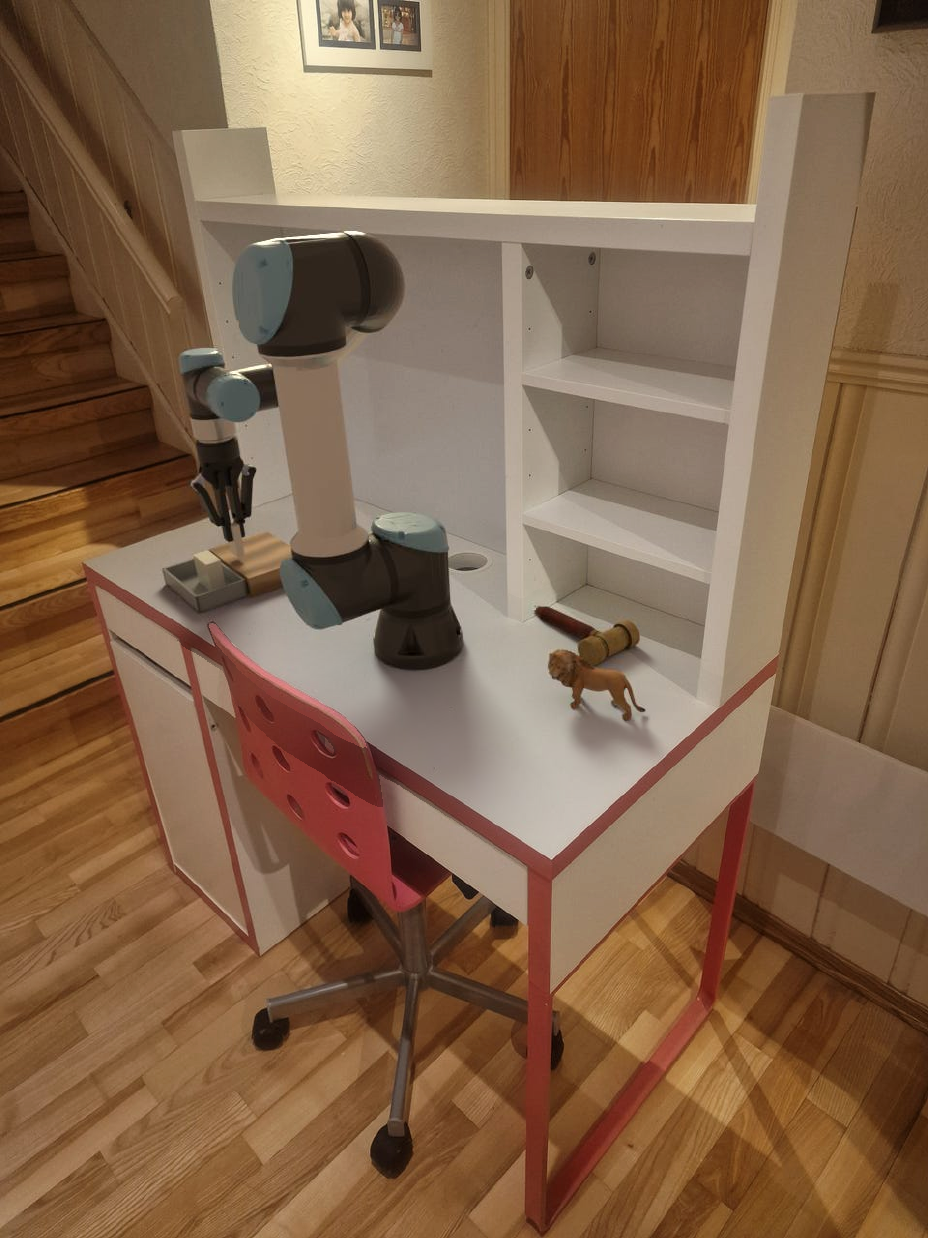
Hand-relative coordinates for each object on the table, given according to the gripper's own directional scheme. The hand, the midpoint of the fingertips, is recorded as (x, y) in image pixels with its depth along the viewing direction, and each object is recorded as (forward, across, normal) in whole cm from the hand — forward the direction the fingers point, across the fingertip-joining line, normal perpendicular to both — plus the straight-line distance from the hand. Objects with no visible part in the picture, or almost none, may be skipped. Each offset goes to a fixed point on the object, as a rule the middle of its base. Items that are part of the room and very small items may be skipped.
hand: (238, 554), depth 166 cm
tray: (+5, +8, 0) cm, 9 cm away
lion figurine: (+6, -18, +77) cm, 79 cm away
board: (+5, -4, 0) cm, 7 cm away
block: (+2, +5, 0) cm, 5 cm away
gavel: (+6, -32, +60) cm, 68 cm away
